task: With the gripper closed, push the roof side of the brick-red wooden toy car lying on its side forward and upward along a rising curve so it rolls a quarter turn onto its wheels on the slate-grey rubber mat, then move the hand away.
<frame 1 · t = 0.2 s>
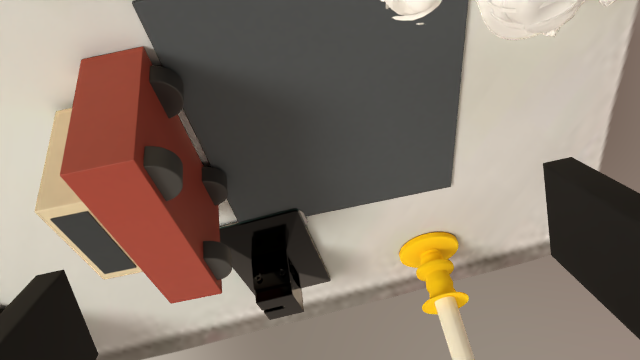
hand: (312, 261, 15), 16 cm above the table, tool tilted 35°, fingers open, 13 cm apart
black piece: (274, 254, 45), on the table, touching mat
toy car: (153, 139, 32), on the table
candle: (427, 245, 48), on the table
mat: (328, 114, 33), on the table
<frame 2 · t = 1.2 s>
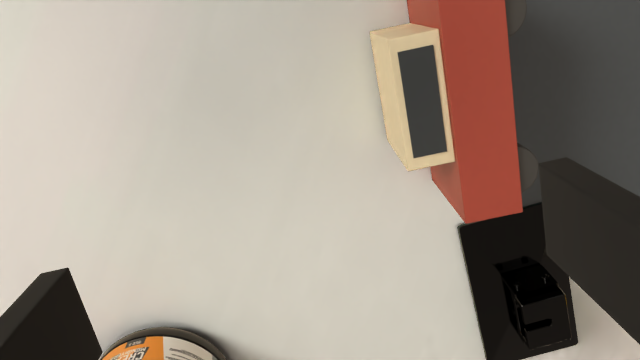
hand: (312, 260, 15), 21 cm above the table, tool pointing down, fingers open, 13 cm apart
black piece: (518, 285, 40), on the table, touching mat
toy car: (437, 82, 34), on the table
mat: (600, 63, 35), on the table
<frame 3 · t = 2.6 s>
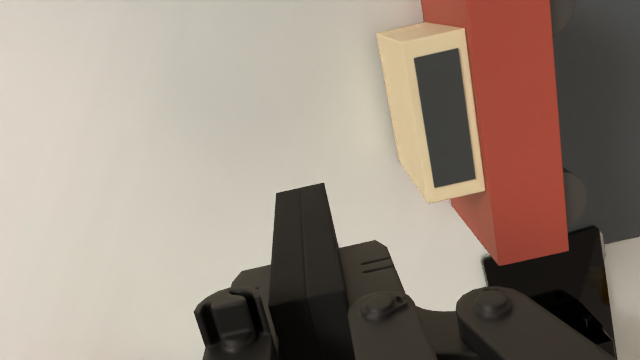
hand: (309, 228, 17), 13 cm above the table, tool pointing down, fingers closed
black piece: (552, 323, 34), on the table, touching mat
toy car: (456, 91, 29), on the table
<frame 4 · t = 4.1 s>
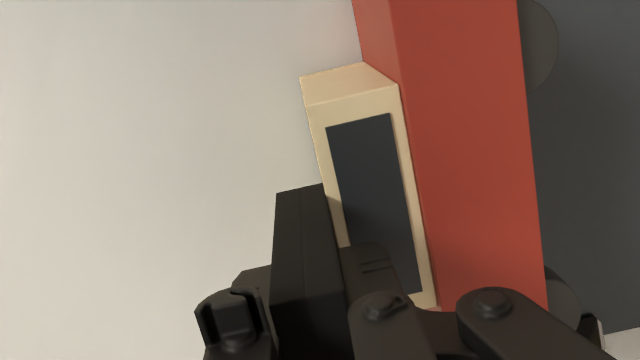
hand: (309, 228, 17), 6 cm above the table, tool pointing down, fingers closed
toy car: (409, 149, 22), on the table, touching gripper
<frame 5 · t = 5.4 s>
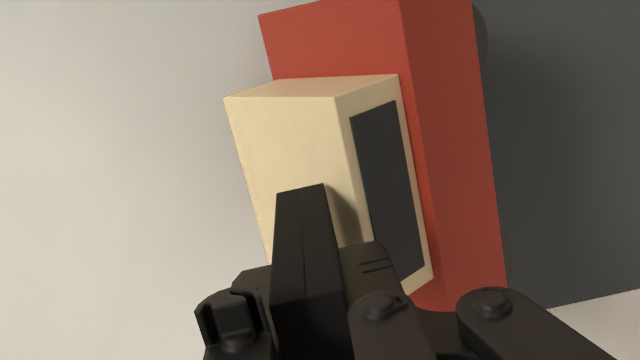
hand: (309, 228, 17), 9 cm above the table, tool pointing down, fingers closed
toy car: (317, 162, 23), point 2 cm above the table, tilted 35°, touching gripper, mat
mat: (530, 123, 25), on the table
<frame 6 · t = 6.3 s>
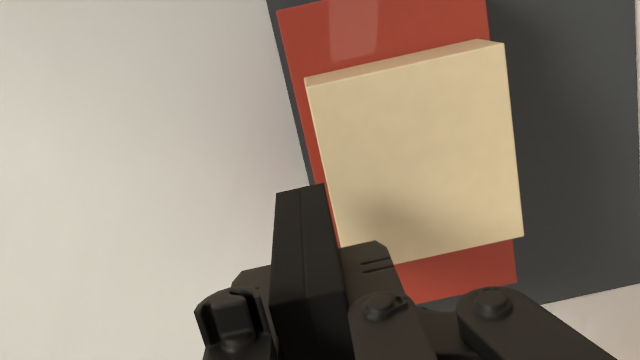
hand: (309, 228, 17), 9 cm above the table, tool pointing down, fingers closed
toy car: (313, 171, 22), point 3 cm above the table, tilted 90°, touching mat
mat: (470, 134, 26), on the table
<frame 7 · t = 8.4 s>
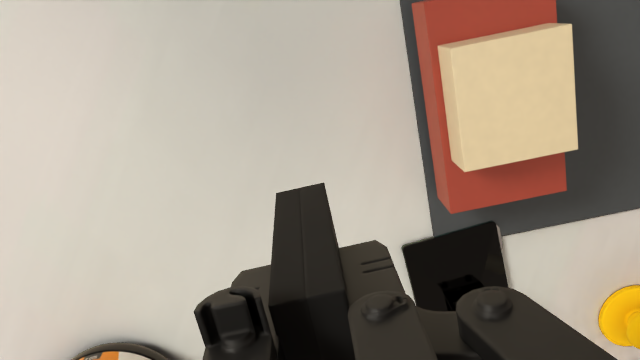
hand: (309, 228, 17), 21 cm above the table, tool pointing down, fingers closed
black piece: (462, 302, 41), on the table, touching mat
toy car: (432, 111, 33), point 3 cm above the table, tilted 90°, touching mat
candle: (628, 312, 43), on the table
mat: (531, 94, 37), on the table
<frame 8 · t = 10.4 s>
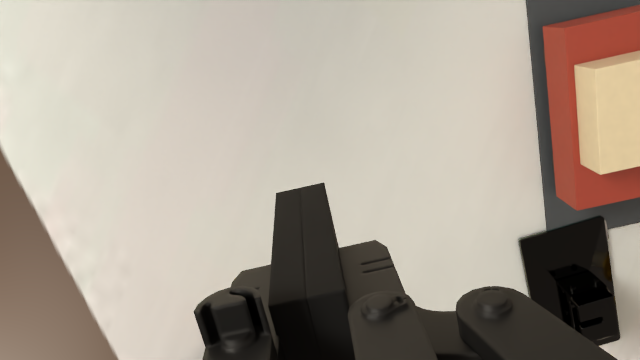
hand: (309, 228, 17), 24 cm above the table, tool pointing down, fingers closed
black piece: (569, 289, 46), on the table, touching mat
toy car: (562, 121, 38), point 3 cm above the table, tilted 90°, touching mat
mat: (639, 102, 41), on the table
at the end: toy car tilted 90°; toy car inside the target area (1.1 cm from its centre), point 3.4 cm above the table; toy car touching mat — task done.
